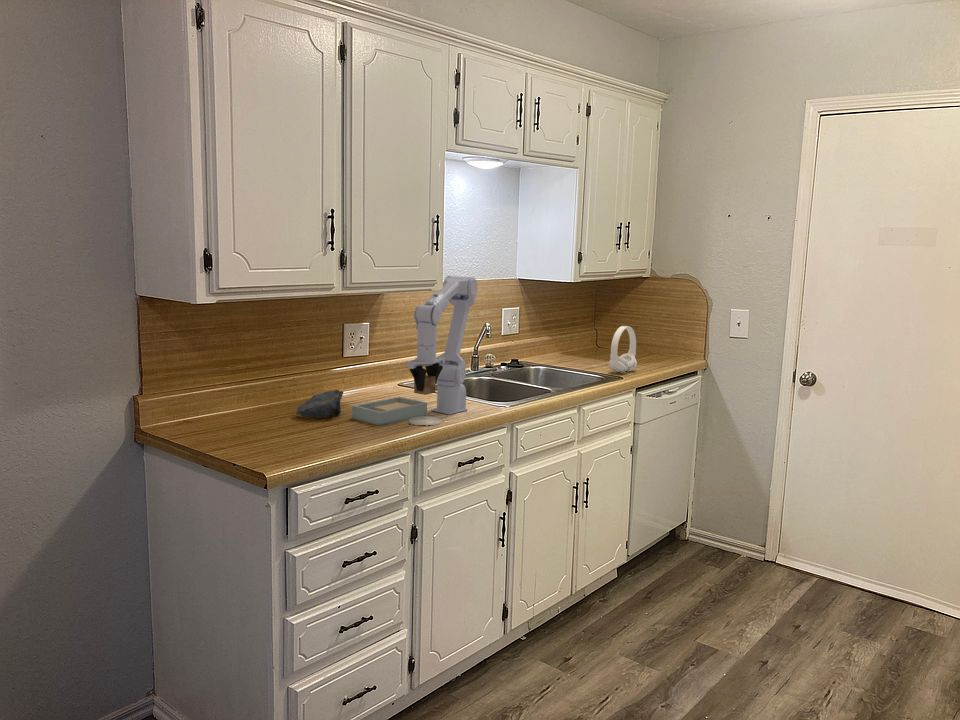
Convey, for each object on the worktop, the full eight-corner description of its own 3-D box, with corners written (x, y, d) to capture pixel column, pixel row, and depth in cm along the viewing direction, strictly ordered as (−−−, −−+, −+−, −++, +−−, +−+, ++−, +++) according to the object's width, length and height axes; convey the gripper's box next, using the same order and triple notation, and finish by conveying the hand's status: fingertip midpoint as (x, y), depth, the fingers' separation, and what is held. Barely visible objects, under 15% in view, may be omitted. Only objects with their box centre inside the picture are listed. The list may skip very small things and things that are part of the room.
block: (424, 390, 238) (424, 374, 237) (435, 392, 235) (435, 376, 234) (414, 392, 234) (414, 376, 234) (425, 394, 232) (425, 378, 231)
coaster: (424, 416, 243) (424, 414, 243) (448, 422, 237) (448, 420, 237) (401, 421, 235) (401, 419, 235) (425, 427, 229) (425, 425, 229)
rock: (353, 419, 237) (348, 405, 246) (344, 396, 234) (340, 383, 243) (304, 437, 235) (301, 422, 244) (294, 414, 231) (292, 400, 240)
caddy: (399, 408, 253) (399, 396, 252) (426, 415, 245) (427, 402, 244) (352, 418, 237) (352, 405, 237) (380, 425, 230) (380, 412, 229)
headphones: (639, 370, 340) (642, 325, 337) (620, 376, 325) (623, 328, 322) (623, 368, 344) (626, 323, 341) (603, 373, 330) (606, 326, 326)
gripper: (433, 341, 240) (432, 384, 242) (399, 345, 229) (399, 390, 231) (450, 344, 236) (449, 387, 238) (417, 348, 225) (416, 394, 227)
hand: (425, 389), depth 234 cm, fingers closed on block, 4 cm apart
